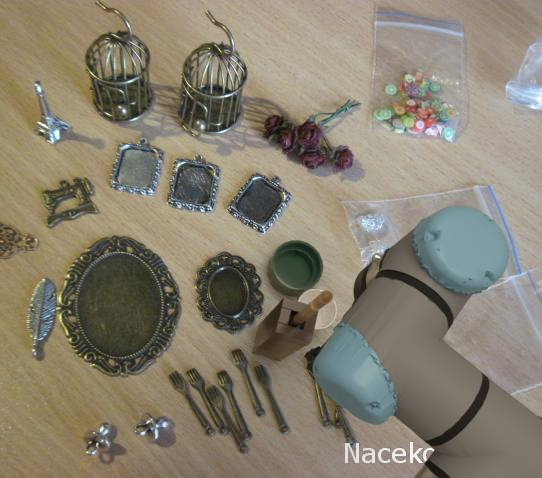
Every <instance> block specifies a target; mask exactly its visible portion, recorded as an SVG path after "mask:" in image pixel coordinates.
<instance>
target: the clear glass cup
mask: <svg viewBox="0 0 542 478" xmlns="http://www.w3.org/2000/svg"><path fill="white" fill-rule="evenodd" d="M323 291H324V289H320V288H311V289H310V290H308V291H306V292H304V293H303V294H301V295H299V298H298V299H297V300H296V301H298V302H302V303H305V304H309V303H310V302H311V301H312V300H314V299H315V298H316V297H317V296H318V295H319V294H321V293H322V292H323ZM337 315H338V306H337V303H336V301H335V299H334V298H333V299H332V300H331V301H330V302H329V303H328V304H326V305H325V306H324V307H322V308H321V309H320V310H319V311H318V315H317V320H316V324H315V329H314V333H318V332H320V331H322V330H324V329H327V328H328V327H330V326H331V325H332V324H333V323H334V322H335V320H336V318H337Z"/></svg>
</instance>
